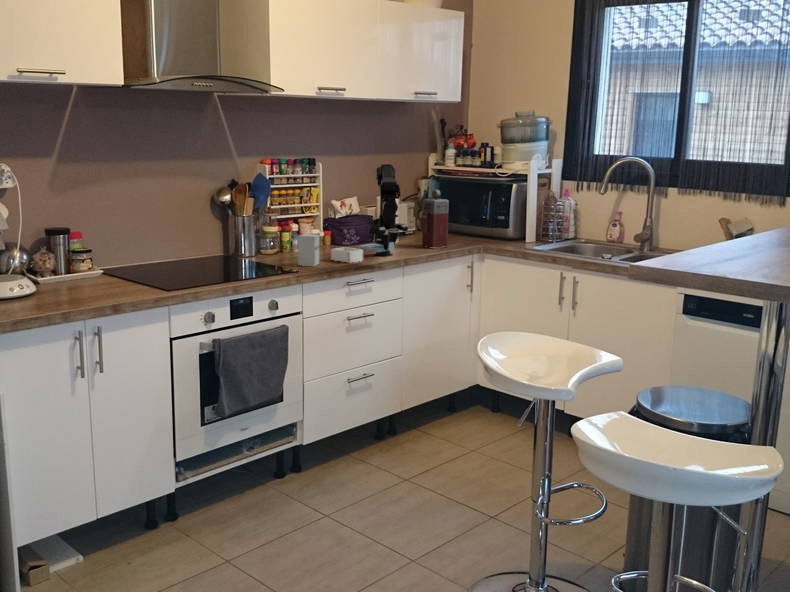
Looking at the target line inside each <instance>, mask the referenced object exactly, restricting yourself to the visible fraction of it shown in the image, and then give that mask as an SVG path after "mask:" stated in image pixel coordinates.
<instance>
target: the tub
mask: <svg viewBox="0 0 790 592" xmlns="http://www.w3.org/2000/svg"><path fill="white" fill-rule="evenodd" d="M331 260H334V261H333V262H337V261H341V262H340V263H343V262H347V263H346V264H353V263H352V262H354V263H360V262H364V250H362V248H354V247H347V246H343V247H342V246H341V247H336V248H330V261H331ZM359 261H360V262H359Z"/></svg>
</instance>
